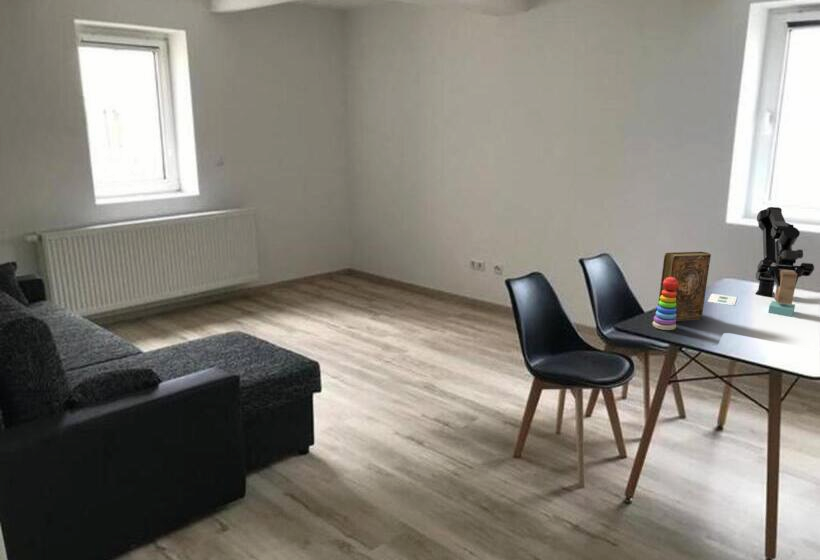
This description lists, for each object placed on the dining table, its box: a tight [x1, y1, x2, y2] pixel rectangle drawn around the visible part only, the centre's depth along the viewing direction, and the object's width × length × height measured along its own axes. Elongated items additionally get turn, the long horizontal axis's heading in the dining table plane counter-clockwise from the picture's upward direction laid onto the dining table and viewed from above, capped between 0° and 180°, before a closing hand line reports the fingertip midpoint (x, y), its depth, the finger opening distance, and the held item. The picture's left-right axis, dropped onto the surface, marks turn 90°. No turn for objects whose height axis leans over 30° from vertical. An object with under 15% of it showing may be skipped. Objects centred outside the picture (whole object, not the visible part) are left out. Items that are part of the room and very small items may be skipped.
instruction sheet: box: [707, 293, 738, 306], centre depth 271 cm, size 14×10×1 cm
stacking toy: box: [652, 277, 678, 331], centre depth 233 cm, size 8×8×19 cm
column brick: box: [774, 270, 798, 304], centre depth 253 cm, size 5×5×12 cm
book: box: [656, 251, 712, 322], centre depth 243 cm, size 16×6×25 cm, turn 102°
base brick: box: [768, 300, 796, 318], centre depth 256 cm, size 8×8×3 cm
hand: (786, 286), depth 252 cm, fingers closed on column brick, 5 cm apart
